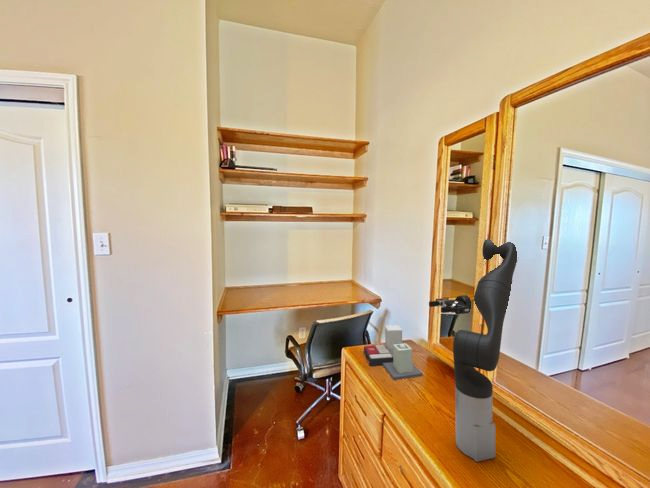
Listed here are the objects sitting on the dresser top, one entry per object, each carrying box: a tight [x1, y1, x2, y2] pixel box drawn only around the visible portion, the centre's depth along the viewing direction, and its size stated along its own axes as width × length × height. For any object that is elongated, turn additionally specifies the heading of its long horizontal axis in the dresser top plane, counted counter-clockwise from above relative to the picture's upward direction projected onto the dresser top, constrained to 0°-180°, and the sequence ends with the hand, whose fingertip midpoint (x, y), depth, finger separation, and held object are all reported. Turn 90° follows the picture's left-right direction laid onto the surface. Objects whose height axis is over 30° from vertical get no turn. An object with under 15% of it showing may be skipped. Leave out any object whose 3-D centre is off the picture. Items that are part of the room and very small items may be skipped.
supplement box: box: [384, 324, 403, 356], centre depth 136 cm, size 7×7×13 cm
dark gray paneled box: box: [363, 344, 393, 367], centre depth 130 cm, size 11×4×15 cm
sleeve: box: [392, 342, 413, 374], centre depth 117 cm, size 6×6×10 cm
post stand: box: [382, 343, 424, 381], centre depth 119 cm, size 14×13×12 cm
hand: (435, 307), depth 110 cm, fingers open, 8 cm apart
